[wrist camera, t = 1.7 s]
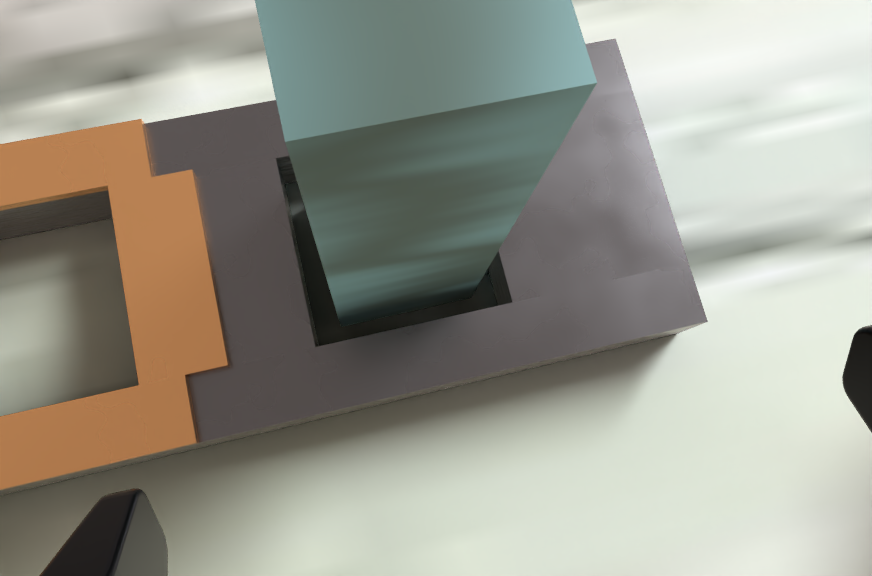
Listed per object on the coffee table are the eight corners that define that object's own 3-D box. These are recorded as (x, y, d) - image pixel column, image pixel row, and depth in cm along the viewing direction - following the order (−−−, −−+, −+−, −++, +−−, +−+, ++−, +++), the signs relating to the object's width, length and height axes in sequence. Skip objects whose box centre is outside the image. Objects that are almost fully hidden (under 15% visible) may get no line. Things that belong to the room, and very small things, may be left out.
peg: (439, 176, 23) (515, -175, 10) (470, 297, 22) (596, 82, 9) (313, 201, 22) (226, -135, 9) (341, 326, 21) (285, 141, 9)
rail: (596, 72, 24) (618, 32, 22) (678, 333, 22) (712, 319, 20) (-258, 231, 20) (-336, 204, 18) (-244, 553, 19) (-328, 567, 16)
